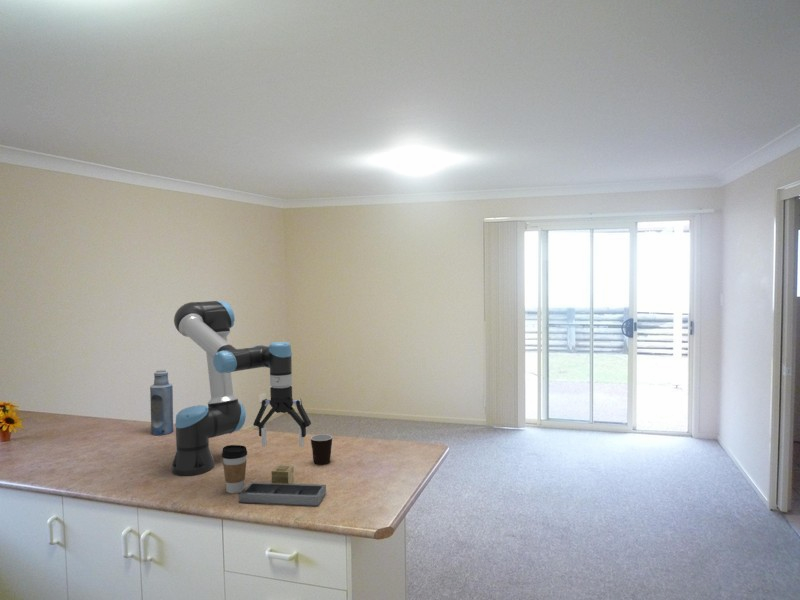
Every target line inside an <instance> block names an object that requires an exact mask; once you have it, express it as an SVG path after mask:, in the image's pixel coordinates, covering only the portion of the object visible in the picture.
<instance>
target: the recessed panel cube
mask: <svg viewBox="0 0 800 600" xmlns="http://www.w3.org/2000/svg"><path fill="white" fill-rule="evenodd" d="M294 468H295V467H294V465H287V464H286V465H282V464H281V465H280V464H277V465H276V466H275V467H274V468H273V469H272V470H271V483H289V484H294V483H295V479H294V477H295V474H294V472H295V471H294Z"/></svg>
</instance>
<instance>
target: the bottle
mask: <svg viewBox="0 0 800 600" xmlns="http://www.w3.org/2000/svg"><path fill="white" fill-rule="evenodd" d="M153 376H154V380H153V384H152V385H150V387H149V389H150V391H149V392H150V394H149V395H150V396H149V398H150V400H149V401H150V421H151V422H150V423H151V424H150V427H151V428H150V429H151V433H150V434H151V435H153V436H163V435H164V436H165V435H169V434H171V433H173V432H174V406H173V405H174V398H173V396H174V395H173V392H174V391H173V384H172V383H170V382H169V372H168V371H167V370H166V369H157V370H156V371H155V372H154V373H153Z"/></svg>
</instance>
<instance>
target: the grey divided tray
mask: <svg viewBox="0 0 800 600" xmlns="http://www.w3.org/2000/svg"><path fill="white" fill-rule="evenodd" d="M326 495H327V485H326V484H313V483H312V484H311V483H310V484H309V483H293V484H289V483H272V482H262V481H260V482H259V481H258V482H257V481H255V482H254V481H250V482H249V484H247V486H245V487H244V490H243V491H242V492H239V494H238V503H240V504H254V505H256V504H258V505H259V504H260V505H279V506H280V505H282V506H301V507H303V506H304V507H305V506H306V507H319V506H320V504H321V502H322V501H323V499H324V498H325V496H326Z"/></svg>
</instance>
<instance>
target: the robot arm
mask: <svg viewBox="0 0 800 600" xmlns="http://www.w3.org/2000/svg"><path fill="white" fill-rule="evenodd" d="M173 324H174V326H175V329H176V330H177V331H178V333H179V334H181V335H182V336H184V337H186V338H187V337H188V338H190V340H192V341H193V342H194V343H195V344H196V345H198V346H199V347H200V348H201V349H203V351H205V354H206V363H207V373H208V379H209V380H208V381H209V390H210V400H209V401H208V402H207V406H206V405H200V404H198V405H192V406H188V407H185V408H184V409H181V410H180V411H178V413H177V414H176V415H175V423H174V424H175V425H174V426H175V441H176V443H175V444H176V452H175V455H174V458H173V461H172V464H171V471H172V474H173V475H175V476H176V475H177V476H183V477H184V476H195V475H200V474H201V475H202V474H203V473H207V472H209V471H211V470H213V468H214V467H215V460H214V456H213V455H212V451H211V449H210V447H209V446H210V444H209V443H210V441H209V439H212V438H215V437H216V438H217V437H219V436H224V435H228V434H232V433H235V432H238V431H240V430H241V429H242V428H243V426H244V425H245V422H246V415H247V414H246V413H247V412H246V409H245V407H244V404H243V403H242V402H240V401H239V398H238V397H237V396H236V395H235V394H234V389H233V388H234V387H233V380H232V373H233V372H239V371H245V370H252V369H253V370H254V369H259V368H269V383H270V384H269V386H271V387H270V388H269V389H270V390H269V392H270V399H267V398H264V399H263V400H261V405H260V409H259V411H258V412H257V415H256V418H255V419H254V422H253V423H252V425H253V427H257V428H258V436H259V437H261V447H265V446H266V445H267V441H268V440H267V438H268V437H267V426H266V425H265V424H266V423H267V422H268V421H269V419H271V417H272V416H273V415H274V413H277V414H279V413H283V414H286V413H287V414H288V415H290V416H291V417H292V419H293V420H294V421H295V423H297V424H298V426H299V428H298V446H299V448H302V447H303V446H304V438H305V437H306V435H307V428H308V427H310V426H311V424H312V422H311V420H310V418H309V415H308V413H307V412H306V411H305V408H304V406H303V401H302V399H301V398H298V399H296V400H295V399H293V386H292V385H293V374H292V370H293V369H292V367H293V366H292V354H293V353H292V347H291V346H292V345H291V343H290V342H288V341H275V342H270V343H269V346H267V345H262V344H261V345H254V346H252V347H246V348H236V347H235V346H233V345H232V344H230V343H229V341H228V335H230V334H231V329H232V328H233V326H234V324H235V313H234V310H233V308H232V306H231V305H230V304H229V303H228V302H226V301H223V300H221V301H220V300H212V301H209V300H207V301H191V302H186V303H184V304H183V305H181V306H180V307H178V308H177V310H176V311H175V314H174V317H173ZM269 405H270V406H271V407H272V408H271V409H270V410H269V411H268V413H267V414H266V415H265V417H264V416H263V415H264V414H265V411H266V409H267V407H268V406H269ZM293 405H294V406H295V407H296V409H297V412H298V413H297V412H296V410H295V409H294V407H293ZM262 417H264V418H263V419H262Z"/></svg>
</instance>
